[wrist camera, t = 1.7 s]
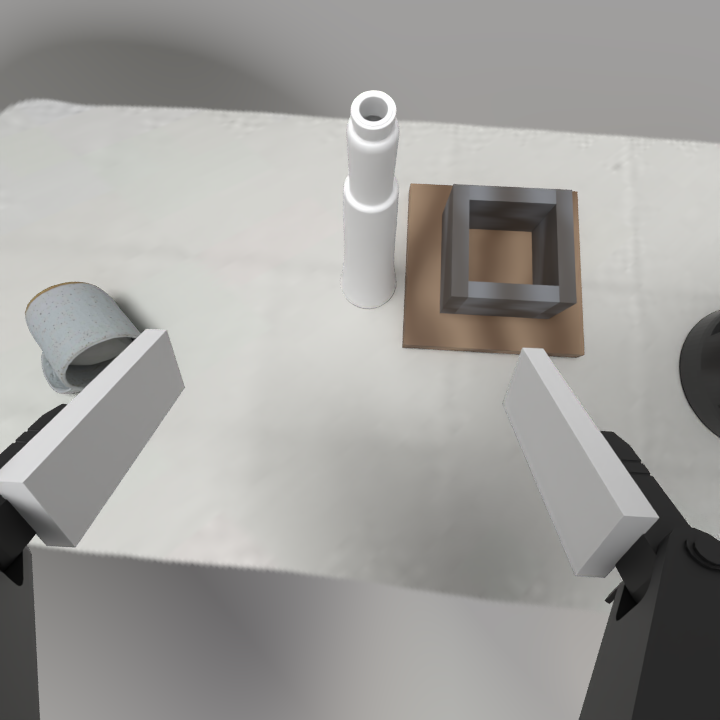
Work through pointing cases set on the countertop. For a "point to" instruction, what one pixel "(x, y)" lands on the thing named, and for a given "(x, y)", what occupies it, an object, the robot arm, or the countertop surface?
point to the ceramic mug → (77, 333)
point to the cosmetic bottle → (370, 201)
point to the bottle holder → (493, 270)
